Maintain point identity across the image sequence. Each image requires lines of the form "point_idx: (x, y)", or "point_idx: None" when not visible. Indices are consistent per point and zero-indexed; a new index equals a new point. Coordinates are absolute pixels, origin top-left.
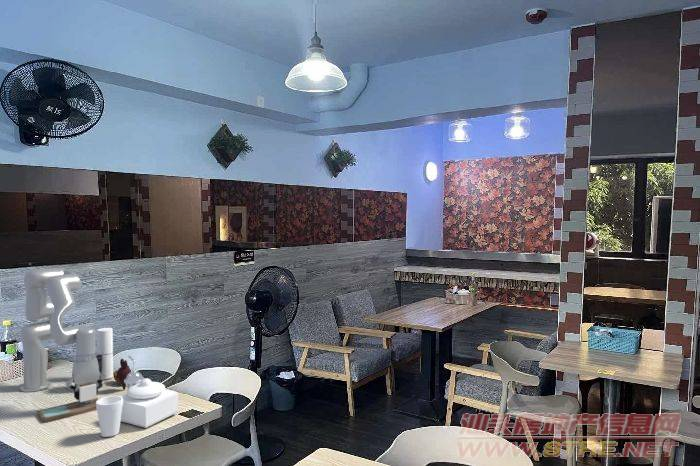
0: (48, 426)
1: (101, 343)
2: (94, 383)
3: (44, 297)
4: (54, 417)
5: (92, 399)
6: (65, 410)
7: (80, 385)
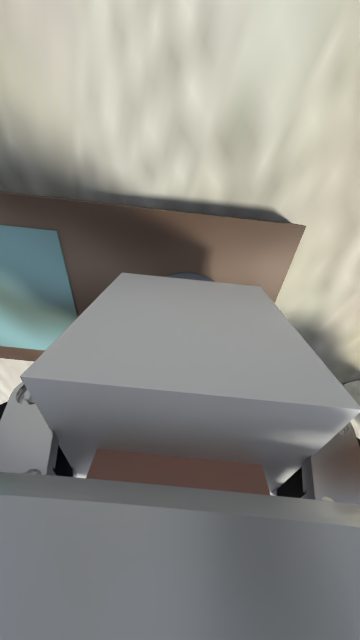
0: (13, 375)
1: None
2: (273, 492)
3: None
4: (16, 358)
5: (252, 268)
6: (63, 326)
7: (97, 464)
